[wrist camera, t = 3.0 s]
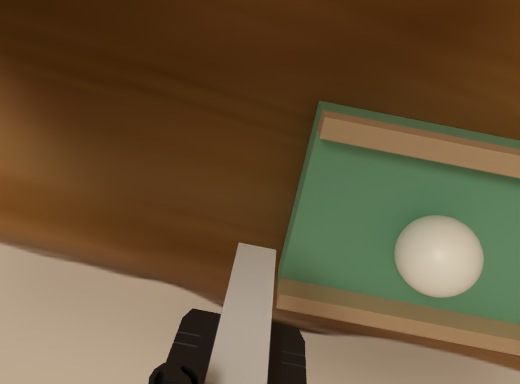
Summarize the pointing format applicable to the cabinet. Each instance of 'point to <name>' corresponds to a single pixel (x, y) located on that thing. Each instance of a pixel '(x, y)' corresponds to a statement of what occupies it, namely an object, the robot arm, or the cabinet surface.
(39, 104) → the cabinet surface
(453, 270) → the ball
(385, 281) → the putting strip
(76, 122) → the cabinet surface
